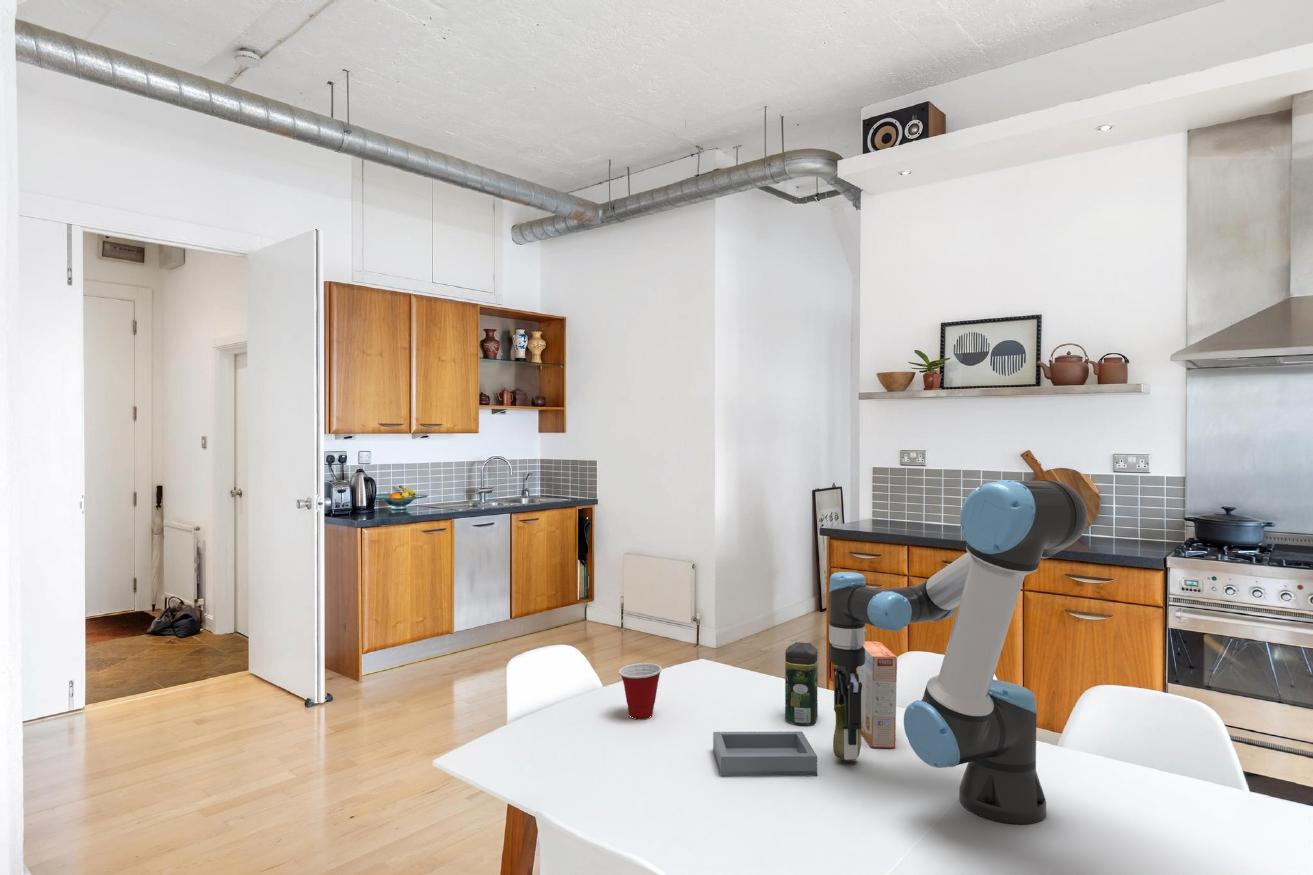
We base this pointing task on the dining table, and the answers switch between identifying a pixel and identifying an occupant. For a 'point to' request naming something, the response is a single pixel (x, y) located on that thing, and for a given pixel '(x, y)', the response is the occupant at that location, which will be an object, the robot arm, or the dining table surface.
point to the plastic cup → (640, 688)
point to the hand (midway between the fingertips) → (847, 753)
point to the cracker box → (878, 695)
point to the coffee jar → (801, 683)
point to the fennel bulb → (842, 734)
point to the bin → (764, 754)
